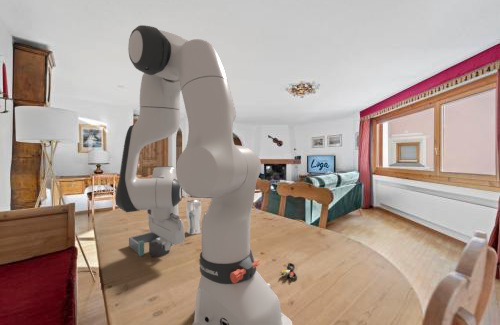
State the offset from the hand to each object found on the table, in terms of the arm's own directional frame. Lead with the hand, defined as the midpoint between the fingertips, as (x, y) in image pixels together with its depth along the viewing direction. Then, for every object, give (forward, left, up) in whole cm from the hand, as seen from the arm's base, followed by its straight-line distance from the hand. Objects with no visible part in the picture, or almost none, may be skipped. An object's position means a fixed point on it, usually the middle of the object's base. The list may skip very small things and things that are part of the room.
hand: (166, 249), depth 76 cm
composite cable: (-39, -21, -3) cm, 44 cm away
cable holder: (+14, 0, -3) cm, 14 cm away
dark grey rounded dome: (+5, 0, -3) cm, 6 cm away
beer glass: (+13, -20, -3) cm, 25 cm away
